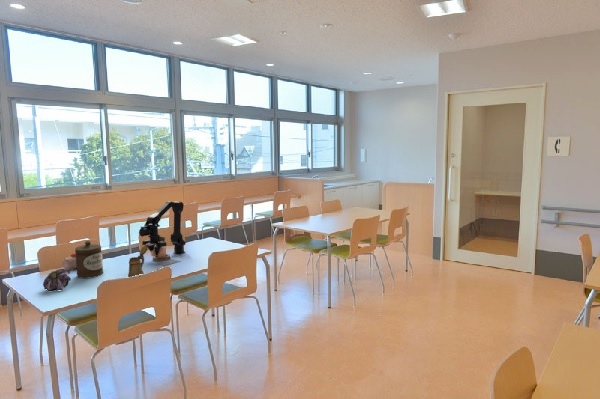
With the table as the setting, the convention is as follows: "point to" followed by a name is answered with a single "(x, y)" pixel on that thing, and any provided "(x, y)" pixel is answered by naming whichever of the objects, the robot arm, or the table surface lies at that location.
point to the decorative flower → (57, 280)
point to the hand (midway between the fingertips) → (155, 255)
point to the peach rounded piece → (161, 252)
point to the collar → (161, 258)
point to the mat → (168, 262)
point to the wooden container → (89, 260)
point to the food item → (70, 262)
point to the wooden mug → (137, 263)
